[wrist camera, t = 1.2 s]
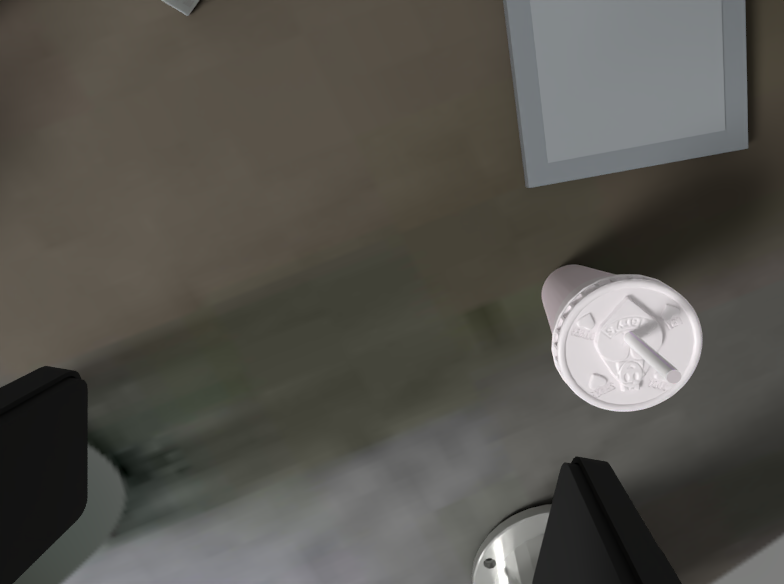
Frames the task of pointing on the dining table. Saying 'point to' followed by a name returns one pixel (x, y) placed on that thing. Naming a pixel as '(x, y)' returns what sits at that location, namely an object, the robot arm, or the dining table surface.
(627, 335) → the smoothie
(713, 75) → the plate
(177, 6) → the supplement box
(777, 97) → the dining table surface
